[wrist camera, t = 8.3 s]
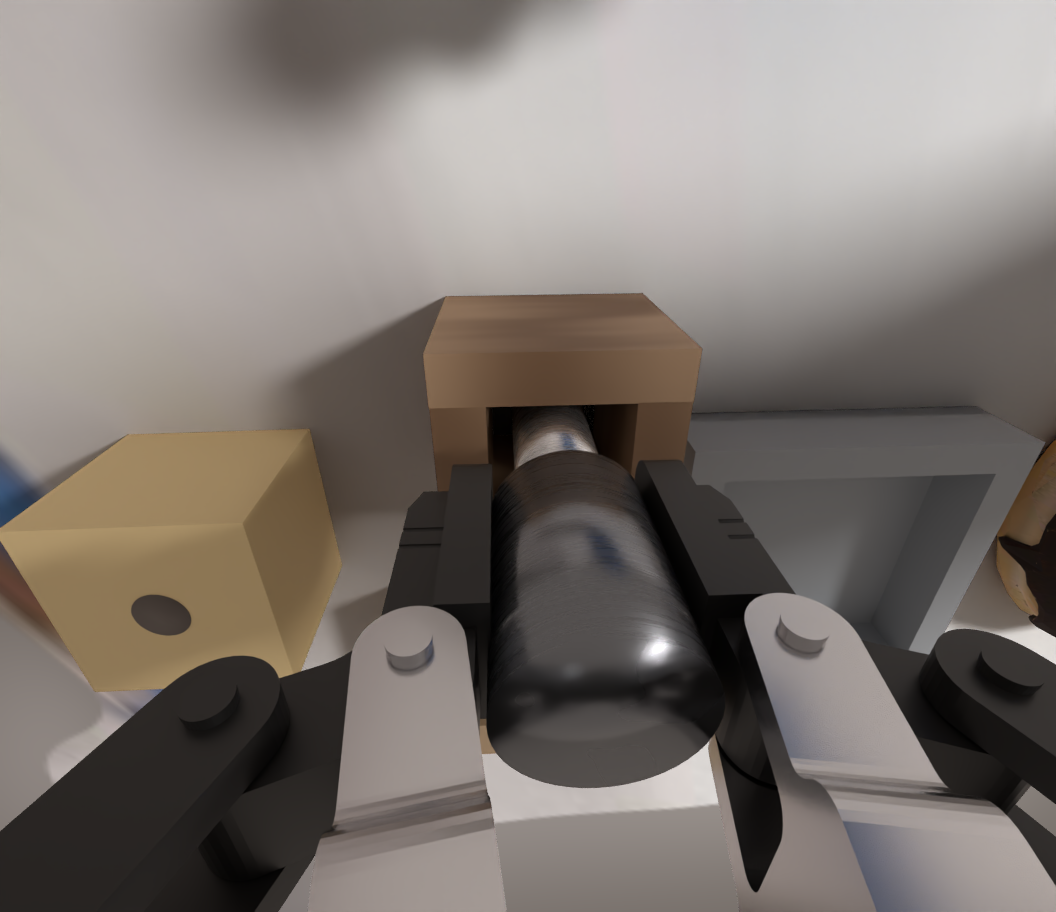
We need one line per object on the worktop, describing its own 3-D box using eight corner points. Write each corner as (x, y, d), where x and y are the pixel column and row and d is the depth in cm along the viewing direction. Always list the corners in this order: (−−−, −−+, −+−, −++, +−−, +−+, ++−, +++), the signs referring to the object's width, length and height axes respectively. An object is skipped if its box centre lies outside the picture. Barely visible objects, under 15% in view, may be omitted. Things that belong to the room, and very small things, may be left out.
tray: (975, 406, 17) (1045, 442, 15) (877, 627, 22) (919, 679, 20) (669, 413, 17) (695, 451, 15) (639, 637, 22) (654, 691, 19)
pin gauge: (601, 351, 13) (748, 634, 6) (593, 448, 15) (702, 782, 7) (490, 352, 13) (482, 643, 5) (493, 450, 15) (490, 793, 7)
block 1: (310, 427, 17) (241, 523, 12) (342, 563, 19) (296, 683, 15) (129, 432, 16) (-7, 532, 12) (188, 569, 19) (94, 692, 15)
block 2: (642, 293, 15) (702, 348, 10) (625, 462, 18) (668, 562, 13) (445, 296, 15) (422, 354, 10) (459, 467, 17) (445, 570, 13)
